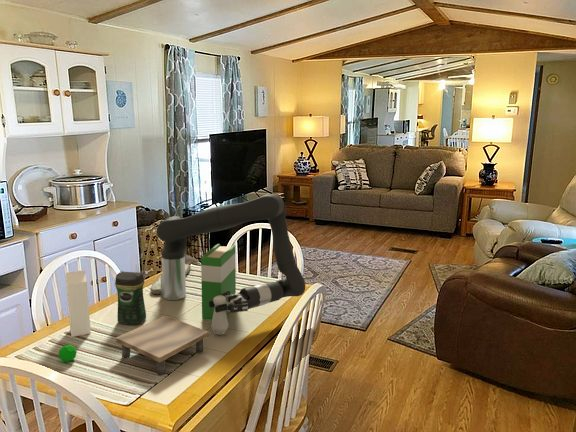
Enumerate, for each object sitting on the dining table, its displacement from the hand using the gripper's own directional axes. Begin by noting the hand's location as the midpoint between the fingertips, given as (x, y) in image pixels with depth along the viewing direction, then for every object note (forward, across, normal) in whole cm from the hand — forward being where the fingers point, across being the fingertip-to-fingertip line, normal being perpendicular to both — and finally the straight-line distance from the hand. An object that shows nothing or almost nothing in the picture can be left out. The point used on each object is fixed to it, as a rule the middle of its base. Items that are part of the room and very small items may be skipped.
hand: (212, 306), depth 158 cm
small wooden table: (+18, +1, +11) cm, 21 cm away
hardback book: (-12, -18, +12) cm, 25 cm away
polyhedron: (+44, -10, +11) cm, 46 cm away
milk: (+36, -28, +11) cm, 47 cm away
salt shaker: (-3, 0, +10) cm, 11 cm away
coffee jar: (+19, -27, +12) cm, 35 cm away
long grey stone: (-9, -58, +12) cm, 59 cm away
